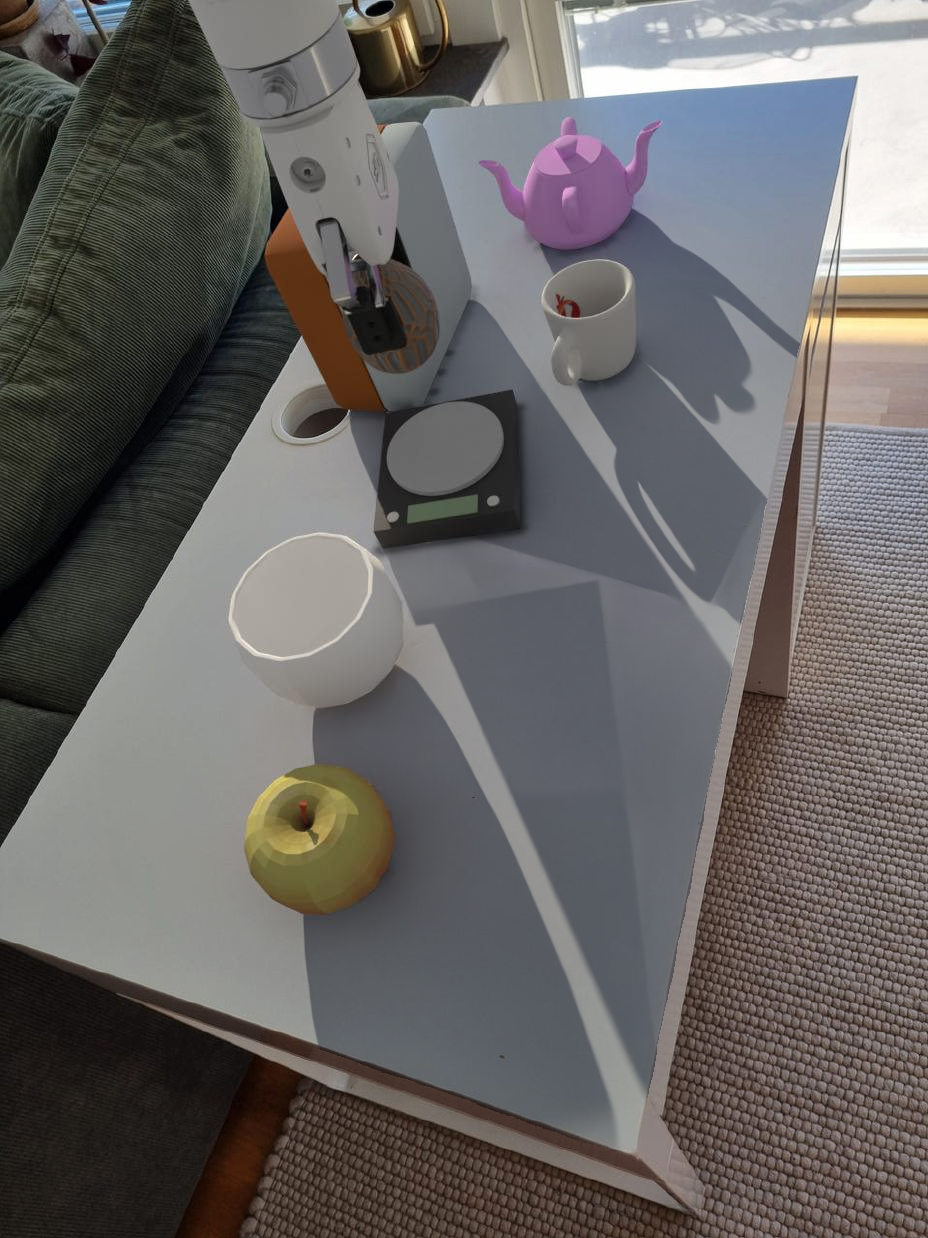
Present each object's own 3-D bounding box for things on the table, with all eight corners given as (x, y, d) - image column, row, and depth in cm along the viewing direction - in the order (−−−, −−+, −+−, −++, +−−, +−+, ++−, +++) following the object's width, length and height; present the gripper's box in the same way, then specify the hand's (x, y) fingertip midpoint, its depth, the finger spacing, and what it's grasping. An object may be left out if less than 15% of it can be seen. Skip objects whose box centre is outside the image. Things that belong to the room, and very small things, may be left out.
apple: (409, 784, 67) (371, 734, 61) (407, 921, 62) (365, 882, 55) (282, 800, 69) (232, 754, 63) (269, 935, 64) (213, 899, 57)
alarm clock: (400, 288, 100) (328, 98, 83) (477, 287, 96) (417, 88, 80) (338, 416, 91) (244, 231, 75) (420, 419, 88) (340, 226, 71)
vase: (440, 313, 73) (405, 214, 66) (458, 368, 69) (423, 268, 62) (358, 344, 74) (314, 248, 67) (371, 400, 70) (326, 304, 63)
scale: (518, 408, 85) (511, 383, 83) (520, 528, 77) (512, 505, 75) (393, 431, 88) (382, 407, 85) (382, 549, 80) (370, 527, 78)
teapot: (497, 237, 100) (476, 160, 93) (592, 167, 103) (579, 86, 96) (570, 276, 93) (554, 195, 86) (670, 200, 96) (663, 116, 89)
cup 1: (436, 597, 76) (398, 522, 68) (406, 735, 69) (360, 670, 62) (299, 598, 80) (248, 527, 72) (258, 729, 73) (198, 668, 65)
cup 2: (608, 421, 81) (594, 350, 75) (528, 405, 85) (509, 336, 79) (658, 337, 85) (649, 263, 79) (580, 325, 89) (565, 253, 83)
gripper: (336, 131, 48) (435, 386, 63) (363, -21, 58) (443, 230, 72) (205, 166, 50) (330, 406, 64) (253, 12, 60) (352, 251, 74)
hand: (389, 311), depth 68 cm, fingers closed on vase, 6 cm apart
